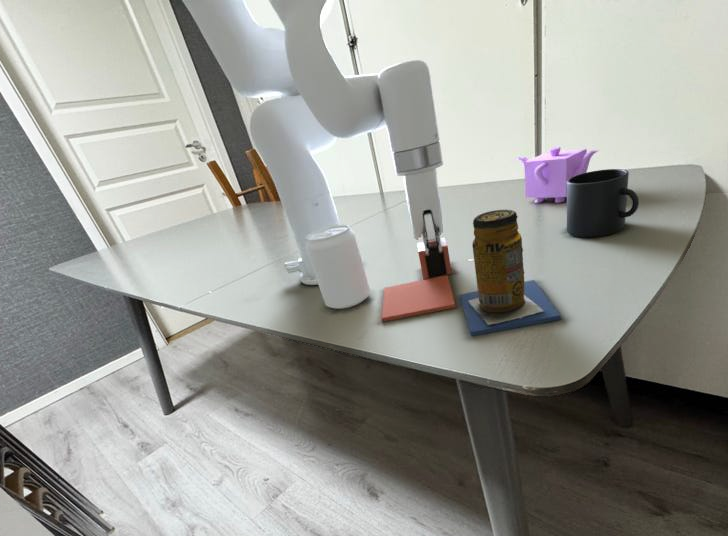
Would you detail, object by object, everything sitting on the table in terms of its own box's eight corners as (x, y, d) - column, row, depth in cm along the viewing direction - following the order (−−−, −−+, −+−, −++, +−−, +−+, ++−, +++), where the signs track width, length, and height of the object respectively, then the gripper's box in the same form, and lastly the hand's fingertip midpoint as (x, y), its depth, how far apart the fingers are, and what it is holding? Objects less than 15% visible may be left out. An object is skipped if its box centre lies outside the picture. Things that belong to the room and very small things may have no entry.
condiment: (516, 289, 58) (510, 203, 52) (543, 312, 51) (540, 215, 44) (468, 302, 58) (456, 217, 52) (488, 327, 50) (477, 232, 44)
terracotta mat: (382, 321, 60) (381, 318, 59) (385, 290, 70) (384, 287, 70) (455, 307, 58) (455, 303, 58) (448, 278, 69) (447, 274, 68)
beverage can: (352, 312, 65) (330, 239, 59) (316, 309, 69) (292, 241, 63) (380, 291, 70) (362, 222, 64) (345, 289, 75) (325, 224, 69)
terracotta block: (423, 279, 70) (418, 251, 68) (422, 269, 75) (417, 243, 72) (451, 273, 70) (447, 245, 67) (449, 264, 74) (444, 237, 71)
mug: (619, 242, 66) (623, 183, 61) (556, 235, 75) (555, 184, 70) (650, 223, 69) (657, 167, 65) (586, 219, 78) (588, 169, 74)
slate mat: (471, 336, 51) (470, 332, 50) (460, 298, 61) (459, 294, 61) (560, 319, 49) (560, 315, 49) (534, 283, 60) (533, 279, 59)
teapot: (526, 210, 92) (523, 159, 87) (518, 198, 104) (516, 152, 98) (597, 197, 89) (599, 143, 84) (582, 186, 100) (583, 137, 95)
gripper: (395, 159, 70) (414, 259, 80) (393, 172, 56) (417, 292, 65) (437, 149, 69) (452, 251, 79) (446, 160, 55) (463, 283, 64)
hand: (436, 269), depth 72 cm, fingers closed on terracotta block, 5 cm apart
